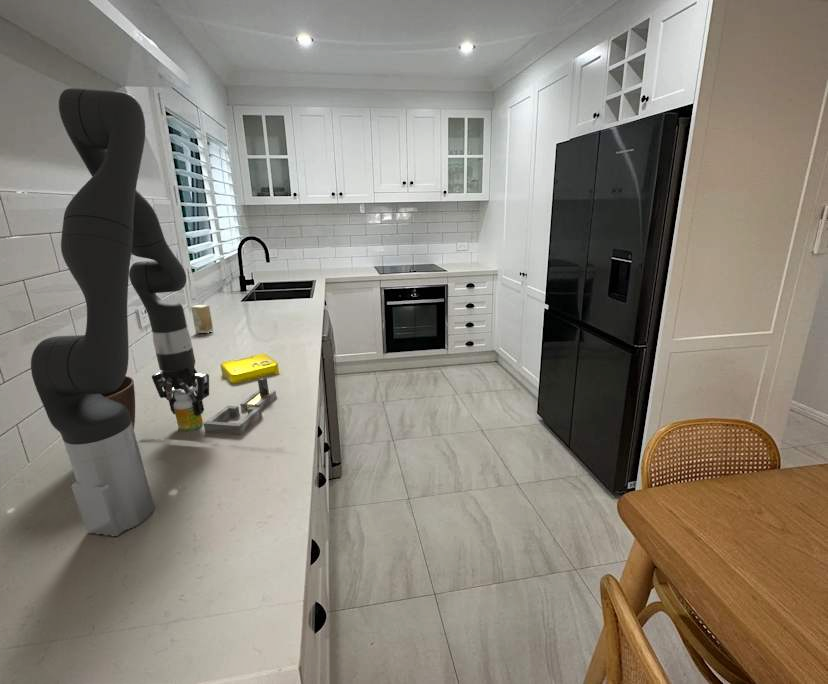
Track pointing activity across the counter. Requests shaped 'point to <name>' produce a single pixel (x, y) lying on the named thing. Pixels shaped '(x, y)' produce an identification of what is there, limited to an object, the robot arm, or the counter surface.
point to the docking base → (254, 413)
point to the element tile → (249, 368)
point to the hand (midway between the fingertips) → (188, 413)
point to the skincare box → (202, 318)
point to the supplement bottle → (185, 412)
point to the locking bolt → (263, 392)
